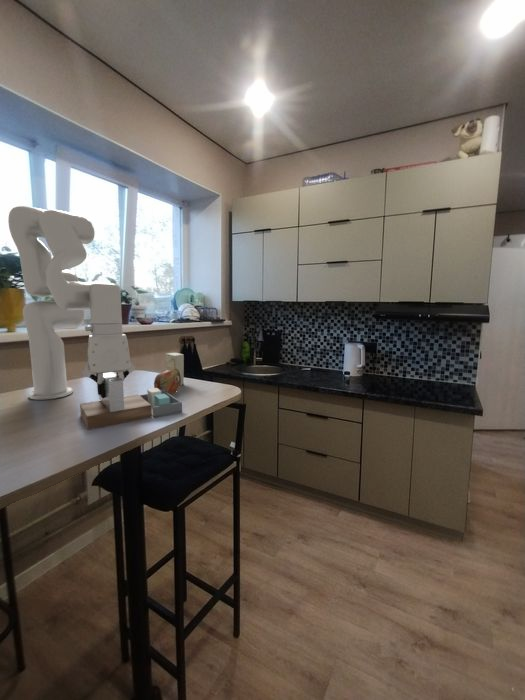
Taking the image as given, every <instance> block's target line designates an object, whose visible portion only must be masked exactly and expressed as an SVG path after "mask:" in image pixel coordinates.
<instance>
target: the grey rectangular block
mask: <svg viewBox="0 0 525 700" xmlns="http://www.w3.org/2000/svg"><path fill="white" fill-rule="evenodd" d="M102 381H103V383H104V386H105V398H102V397H101V396H100V395H98V398H99V399H98V400H99V401H102V402H103V404H104V405H105V406H106V408H107V409H108V410H109V411H110V412H114V411H119V410H124V397H125V396H124V395H125V393H124V392H125V391H124V381H123V380H122V379H121V378H119V377H118V376H117V374H116V372H110V373H103V380H102Z"/></svg>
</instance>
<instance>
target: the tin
mask: <svg viewBox="0 0 525 700" xmlns="http://www.w3.org/2000/svg"><path fill="white" fill-rule="evenodd" d="M180 384H181V376H180V373H179V371H178V370H177V369H169V370H166V369H165V371H162V372H160V373H158V374H157V375H156V376H155V378H154V382H153V385H154V386H153V387H154V388H158V389H159V390H161V392H163V391H165V392H167V393H169V394H170V395H172V396H173V393H174V394H175V393H177V392H178V391H179V390H180V386H181V385H180ZM176 391H177V392H176Z"/></svg>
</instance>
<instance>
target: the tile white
mask: <svg viewBox="0 0 525 700" xmlns="http://www.w3.org/2000/svg"><path fill="white" fill-rule="evenodd" d="M146 389H147V388H146ZM146 394H147V395H148V403H149V404H151V406H152V407H154V406H155V400H154V395H158V394H161V390H159V389H158V388H153V387H152V388H148V389H147V393H146Z"/></svg>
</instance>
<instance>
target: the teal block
mask: <svg viewBox="0 0 525 700" xmlns="http://www.w3.org/2000/svg"><path fill="white" fill-rule="evenodd" d="M154 400H155V407H156V406H161V405H166V404H170V397H168V396H167V395H166V394H158V395H154Z"/></svg>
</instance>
